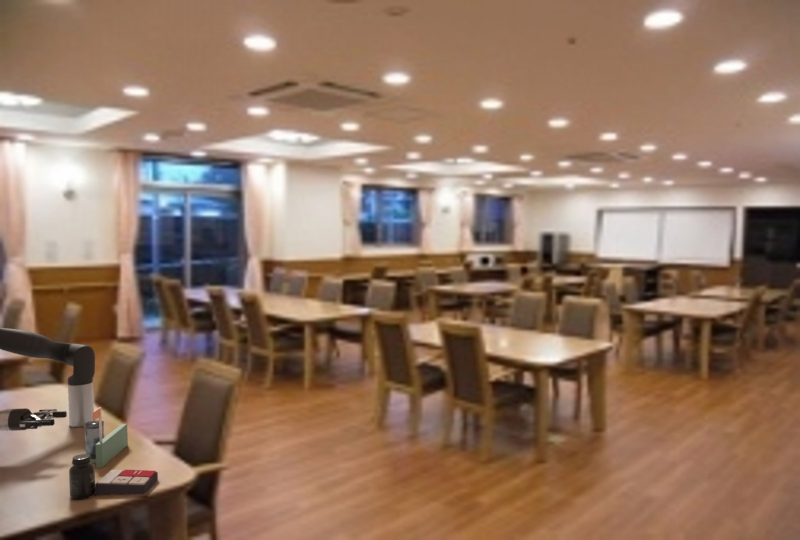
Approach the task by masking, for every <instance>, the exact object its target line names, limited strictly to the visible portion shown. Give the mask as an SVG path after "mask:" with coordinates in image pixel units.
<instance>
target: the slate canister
mask: <svg viewBox="0 0 800 540" xmlns="http://www.w3.org/2000/svg"><path fill="white" fill-rule="evenodd" d="M83 427H84V445H85V448H84V449H85V454H89V455H90V456H91V459H96V446H95V444H97V443H98V442H99V441H100V434H99V419H96V420H95V421H90V422H87V423H85V424H84V426H83ZM104 427H105V422H104V420H102V439H103V438H104V437H105V428H104Z"/></svg>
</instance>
